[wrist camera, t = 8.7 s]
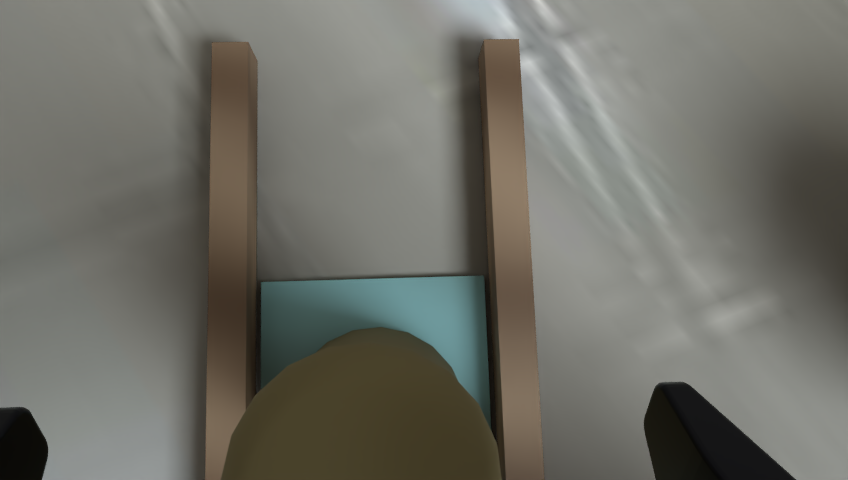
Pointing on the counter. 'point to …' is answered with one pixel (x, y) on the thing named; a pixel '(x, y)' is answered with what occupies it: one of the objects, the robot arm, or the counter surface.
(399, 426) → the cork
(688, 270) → the counter surface
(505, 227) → the rail track
